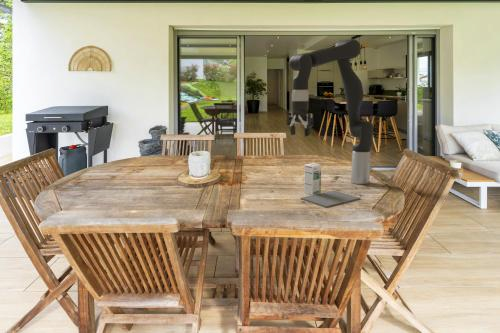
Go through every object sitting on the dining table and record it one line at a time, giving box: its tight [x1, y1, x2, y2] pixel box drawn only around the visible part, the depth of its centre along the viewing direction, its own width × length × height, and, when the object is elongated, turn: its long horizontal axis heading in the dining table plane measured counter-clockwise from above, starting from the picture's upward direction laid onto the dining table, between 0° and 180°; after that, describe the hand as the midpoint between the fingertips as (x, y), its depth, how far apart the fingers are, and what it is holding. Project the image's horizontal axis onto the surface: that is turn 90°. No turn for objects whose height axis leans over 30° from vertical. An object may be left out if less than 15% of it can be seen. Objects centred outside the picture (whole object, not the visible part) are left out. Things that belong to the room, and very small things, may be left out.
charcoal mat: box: [300, 190, 361, 208], centre depth 176 cm, size 22×16×1 cm
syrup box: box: [303, 162, 322, 196], centre depth 184 cm, size 6×6×14 cm
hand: (299, 135), depth 177 cm, fingers open, 8 cm apart
